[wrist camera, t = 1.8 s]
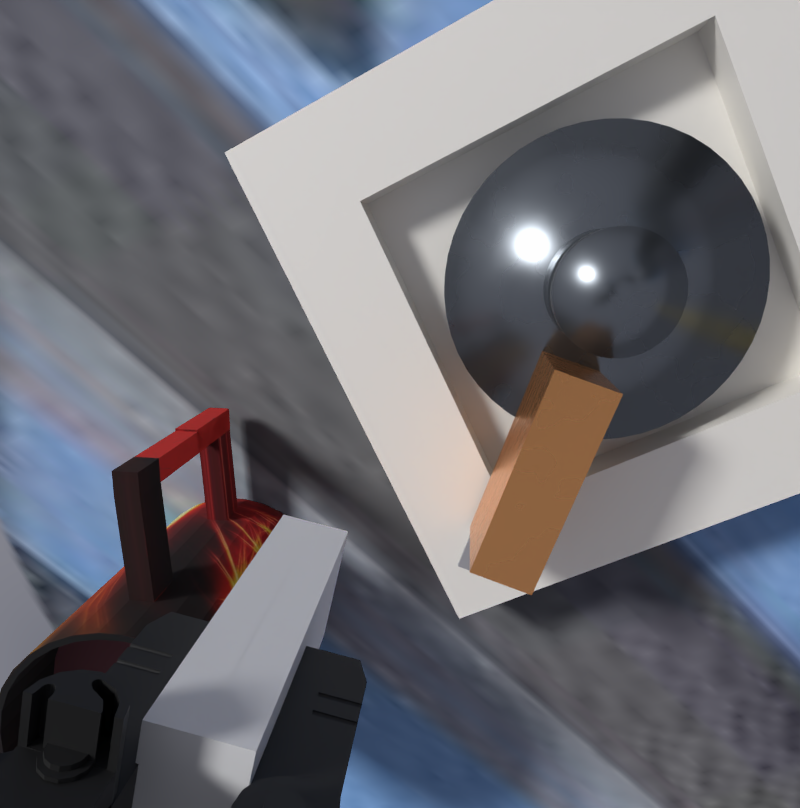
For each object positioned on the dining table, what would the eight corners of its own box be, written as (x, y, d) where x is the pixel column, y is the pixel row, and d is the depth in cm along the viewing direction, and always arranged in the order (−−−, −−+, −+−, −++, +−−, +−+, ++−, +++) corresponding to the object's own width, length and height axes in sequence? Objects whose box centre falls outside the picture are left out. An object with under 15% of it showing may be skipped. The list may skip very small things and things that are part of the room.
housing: (746, -108, 25) (888, -293, 16) (918, 402, 29) (1108, 468, 20) (255, 164, 29) (166, 130, 21) (460, 576, 33) (456, 692, 24)
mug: (233, 394, 32) (97, 479, 20) (362, 625, 34) (306, 821, 23) (77, 472, 34) (-127, 590, 22) (210, 686, 36) (86, 895, 25)
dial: (508, 84, 25) (519, 35, 19) (803, 188, 25) (903, 171, 19) (370, 471, 30) (346, 526, 24) (620, 563, 29) (656, 641, 24)
